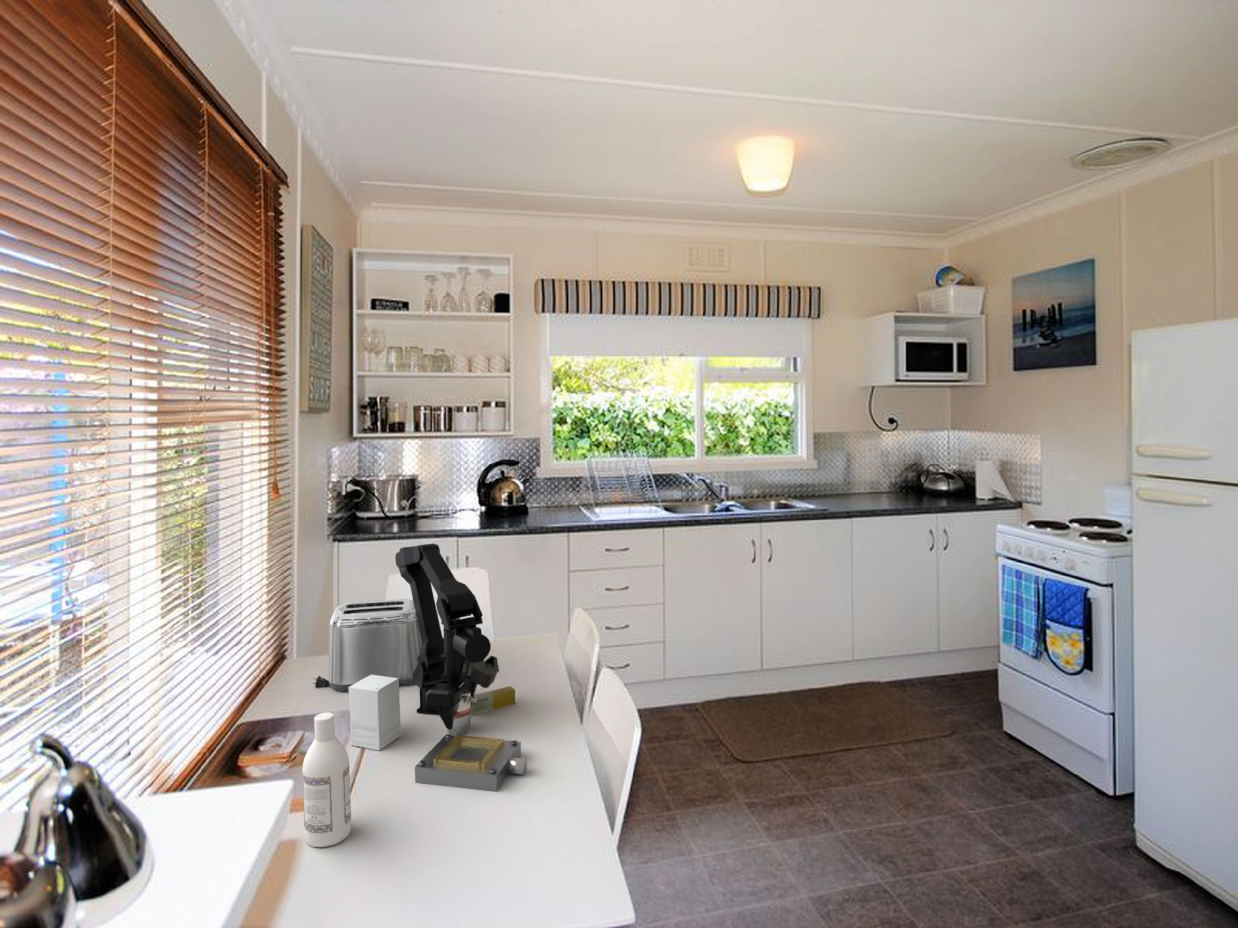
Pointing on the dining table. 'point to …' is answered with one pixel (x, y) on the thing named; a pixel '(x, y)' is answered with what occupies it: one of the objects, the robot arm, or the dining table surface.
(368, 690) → the supplement box
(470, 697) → the spout can
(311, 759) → the bath foam
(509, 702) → the medication box
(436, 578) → the robot arm
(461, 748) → the grey fixture base
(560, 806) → the dining table surface
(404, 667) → the toaster
